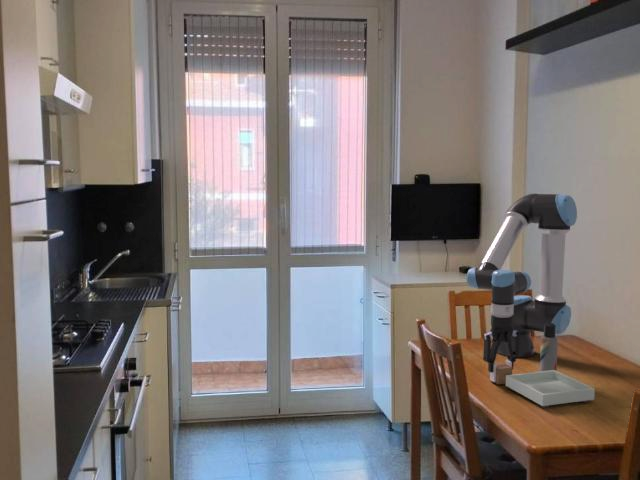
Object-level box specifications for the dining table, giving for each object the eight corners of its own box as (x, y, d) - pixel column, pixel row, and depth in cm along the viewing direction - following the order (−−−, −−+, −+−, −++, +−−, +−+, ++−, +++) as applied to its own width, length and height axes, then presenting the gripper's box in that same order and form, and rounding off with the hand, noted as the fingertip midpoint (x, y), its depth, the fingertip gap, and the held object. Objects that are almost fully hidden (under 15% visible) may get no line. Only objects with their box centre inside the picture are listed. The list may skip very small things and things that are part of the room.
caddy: (505, 388, 222) (505, 375, 221) (553, 383, 228) (554, 370, 227) (542, 409, 203) (542, 394, 202) (594, 403, 209) (594, 388, 208)
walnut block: (489, 379, 230) (489, 364, 229) (503, 377, 232) (503, 362, 231) (498, 384, 225) (498, 369, 224) (511, 382, 227) (512, 367, 226)
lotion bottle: (556, 377, 235) (558, 322, 232) (556, 381, 229) (558, 326, 227) (539, 375, 237) (541, 321, 234) (539, 380, 231) (541, 325, 229)
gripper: (484, 319, 219) (483, 386, 222) (531, 315, 225) (529, 380, 228) (472, 314, 226) (471, 379, 229) (518, 310, 232) (517, 373, 235)
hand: (500, 379), depth 228 cm, fingers closed on walnut block, 5 cm apart
